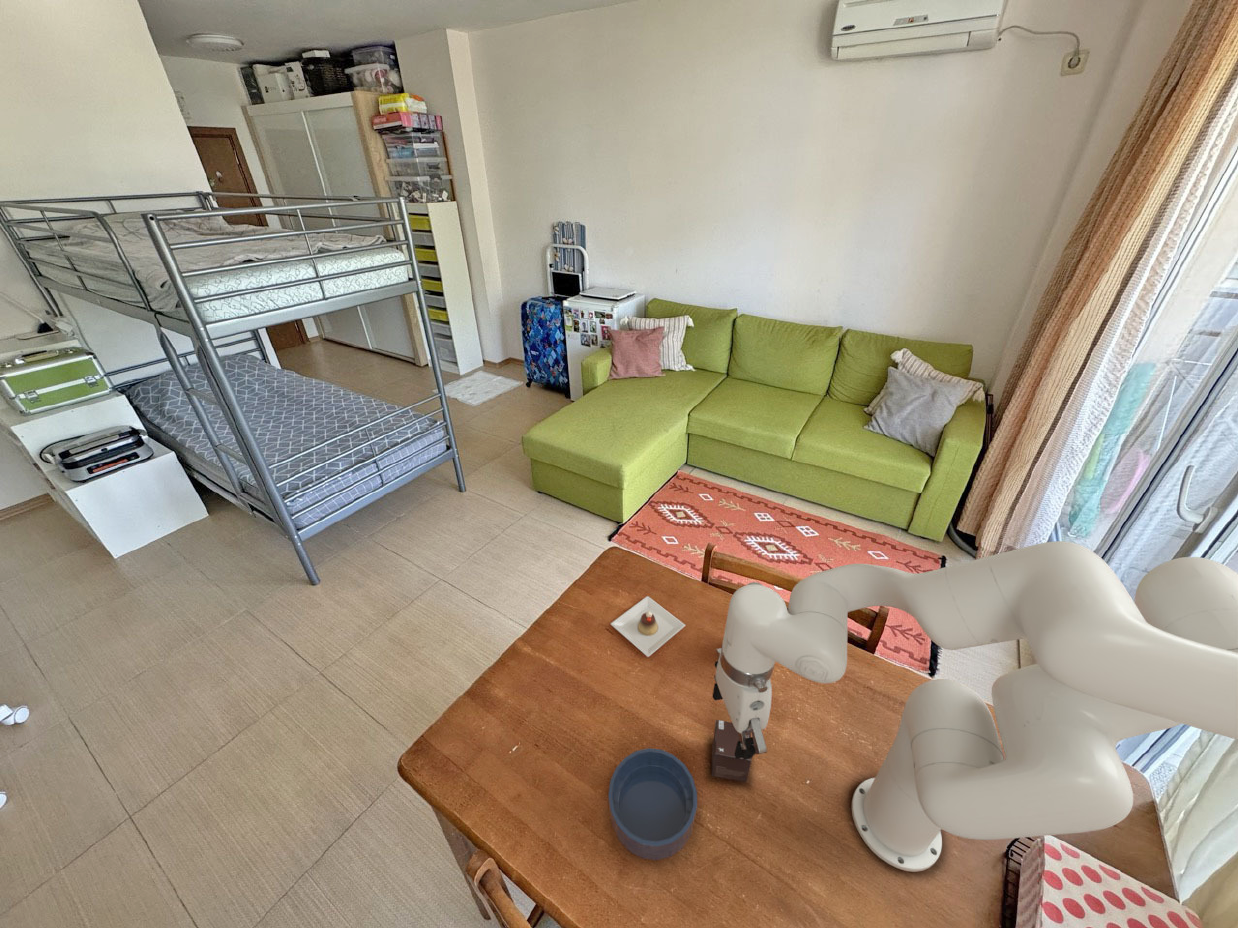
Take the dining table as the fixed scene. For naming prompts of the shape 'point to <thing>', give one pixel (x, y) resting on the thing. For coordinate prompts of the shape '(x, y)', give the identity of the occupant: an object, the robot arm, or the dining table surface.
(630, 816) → the bowl
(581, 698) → the dining table surface
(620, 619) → the dessert
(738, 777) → the box
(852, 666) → the dining table surface
